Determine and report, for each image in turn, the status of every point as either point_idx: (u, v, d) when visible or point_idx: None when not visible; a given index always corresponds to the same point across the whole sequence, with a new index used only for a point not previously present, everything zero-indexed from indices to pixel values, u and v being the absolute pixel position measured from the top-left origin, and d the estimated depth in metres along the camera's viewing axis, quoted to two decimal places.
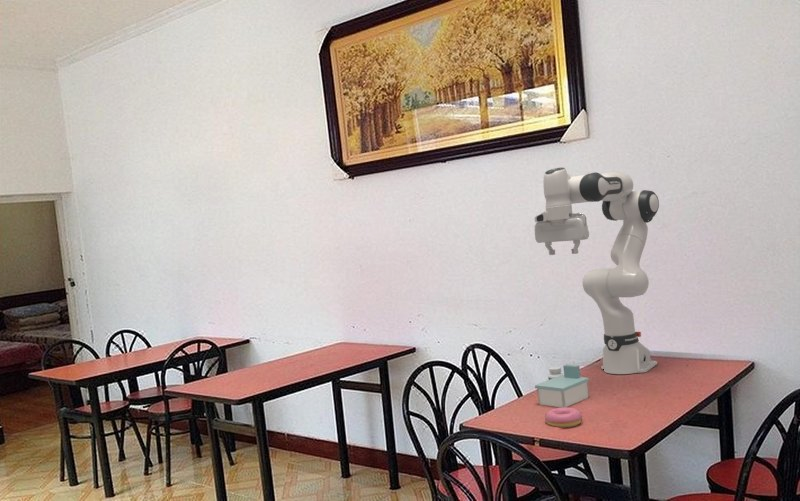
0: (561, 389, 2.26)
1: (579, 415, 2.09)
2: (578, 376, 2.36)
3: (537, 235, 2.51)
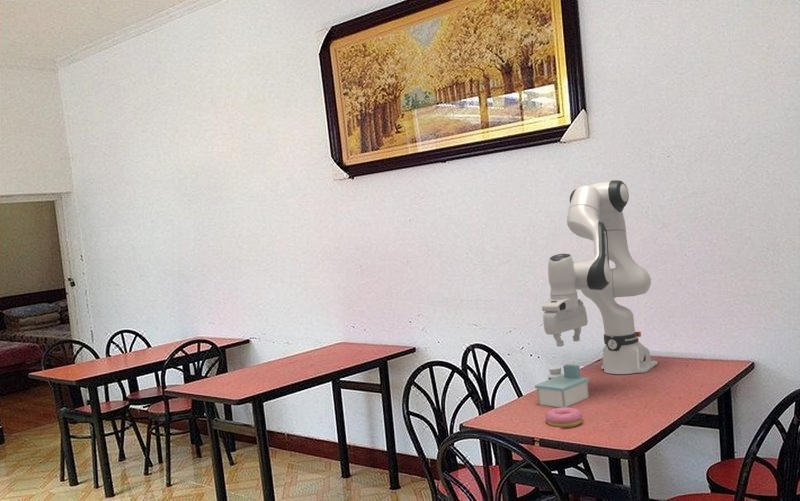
0: (561, 389, 2.26)
1: (579, 415, 2.09)
2: (578, 376, 2.36)
3: (555, 326, 2.30)
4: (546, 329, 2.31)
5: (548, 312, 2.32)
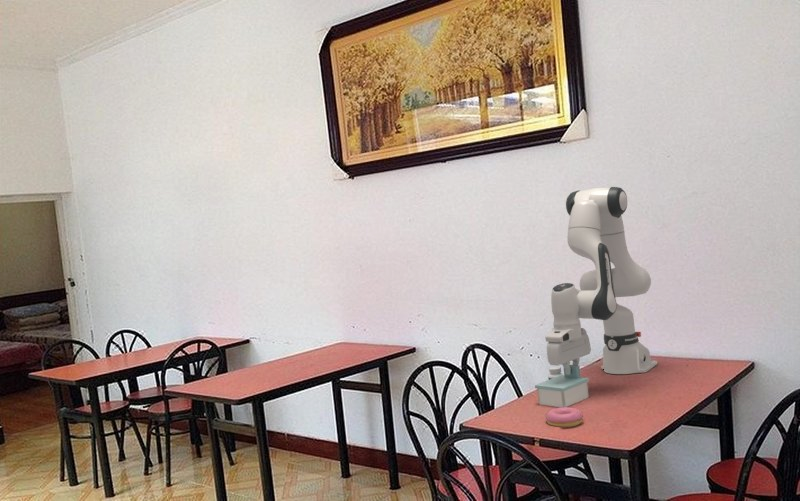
0: (561, 389, 2.26)
1: (580, 415, 2.09)
2: (578, 376, 2.36)
3: (559, 357, 2.31)
4: (550, 360, 2.32)
5: (551, 343, 2.33)
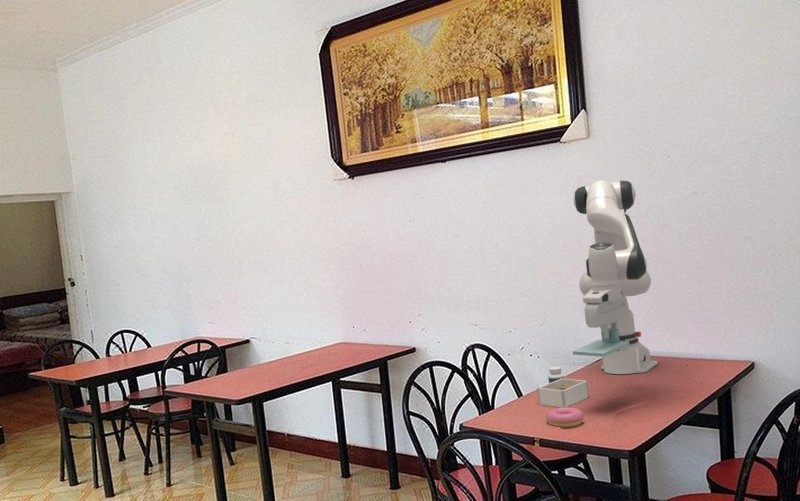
0: (602, 354, 2.13)
1: (580, 415, 2.09)
2: (617, 340, 2.24)
3: (598, 318, 2.18)
4: (588, 322, 2.20)
5: (590, 304, 2.20)
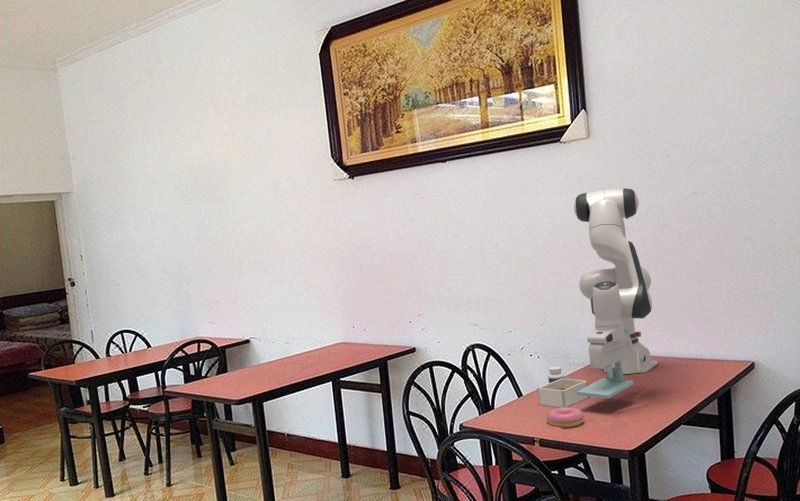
0: (606, 396, 2.14)
1: (581, 415, 2.09)
2: (621, 379, 2.24)
3: (602, 359, 2.19)
4: (592, 362, 2.20)
5: (594, 344, 2.21)
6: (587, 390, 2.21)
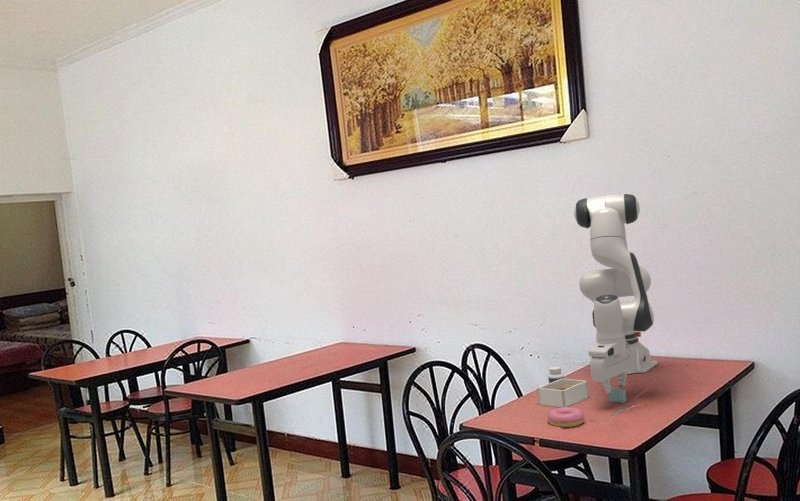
0: None
1: (581, 415, 2.09)
2: (624, 400, 2.25)
3: (604, 373, 2.19)
4: (593, 376, 2.20)
5: (595, 358, 2.21)
6: None
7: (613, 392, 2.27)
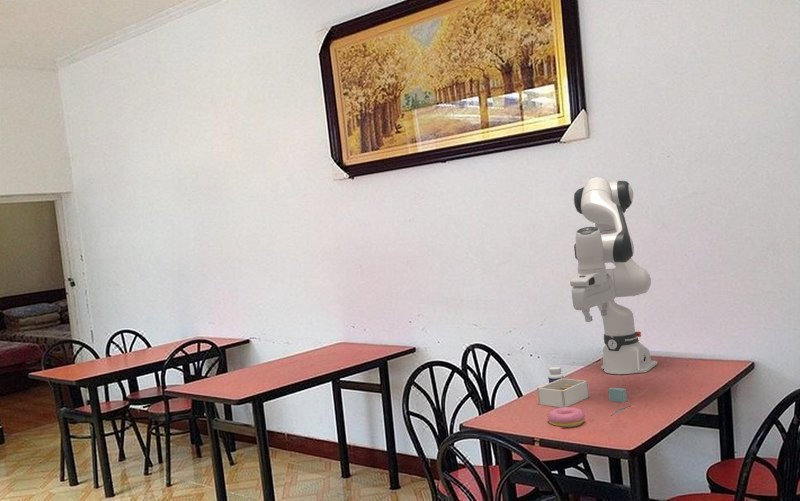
0: None
1: (582, 415, 2.09)
2: (625, 400, 2.25)
3: (585, 301, 2.25)
4: (575, 305, 2.26)
5: (577, 287, 2.27)
6: None
7: (613, 392, 2.27)
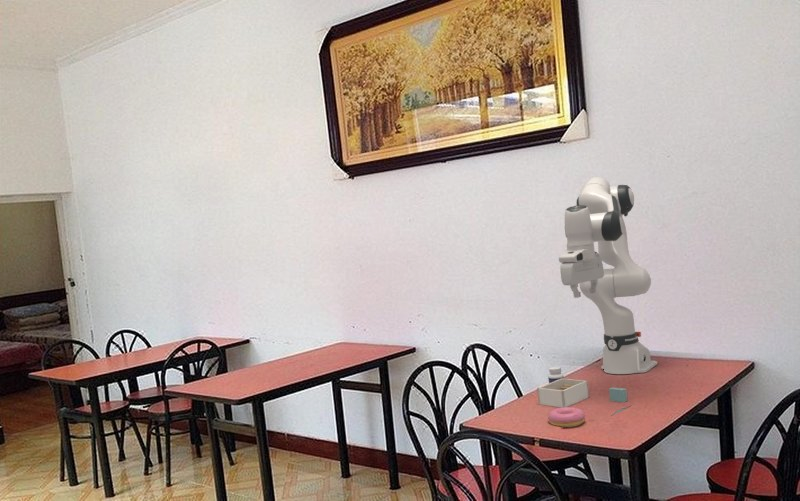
0: None
1: (582, 415, 2.09)
2: (625, 400, 2.25)
3: (573, 276, 2.29)
4: (563, 280, 2.31)
5: (565, 263, 2.31)
6: None
7: (614, 392, 2.27)
